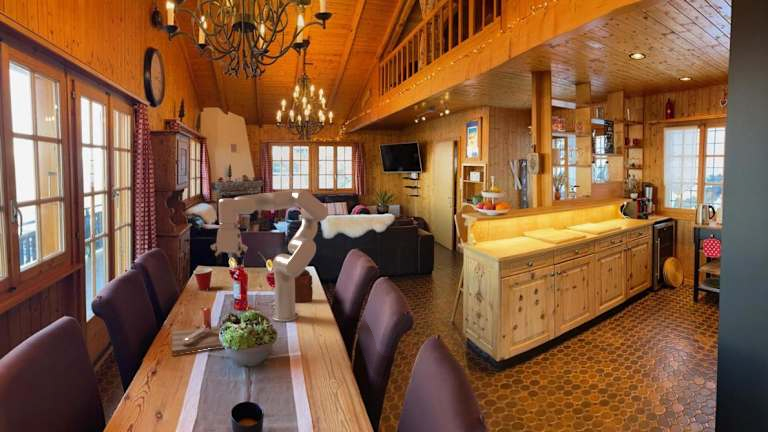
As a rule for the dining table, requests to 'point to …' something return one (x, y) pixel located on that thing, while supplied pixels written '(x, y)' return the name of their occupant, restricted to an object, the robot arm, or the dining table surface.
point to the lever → (203, 330)
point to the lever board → (200, 343)
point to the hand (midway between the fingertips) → (229, 264)
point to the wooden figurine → (303, 287)
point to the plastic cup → (203, 278)
